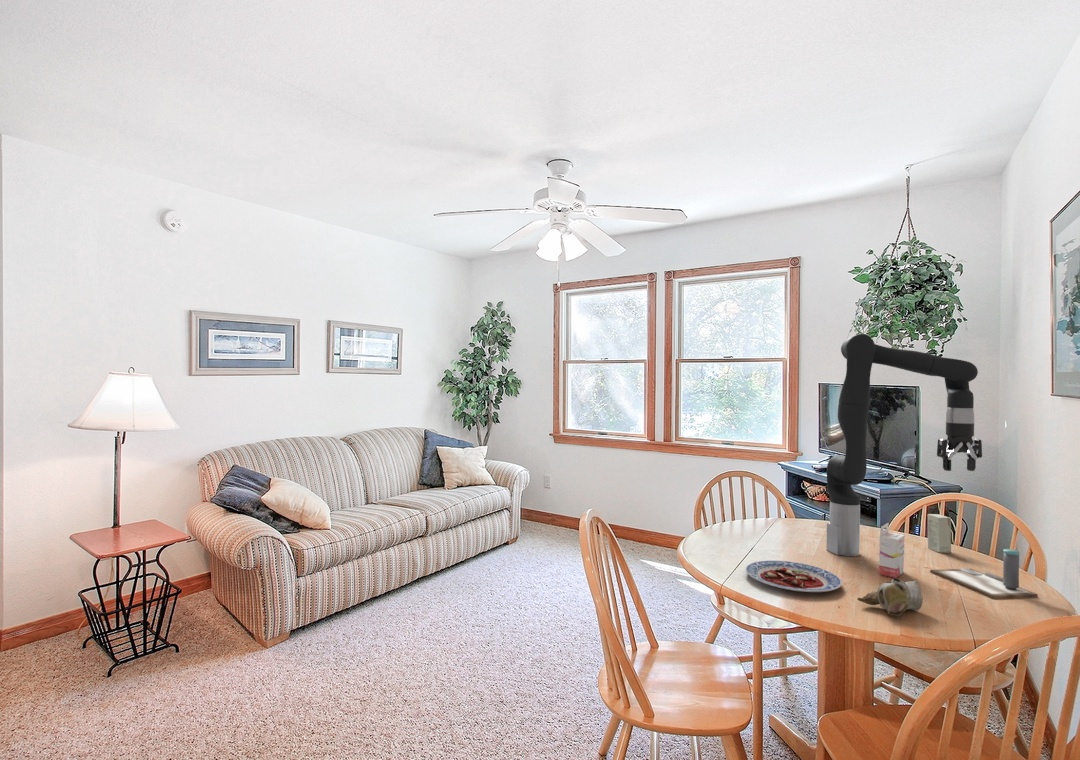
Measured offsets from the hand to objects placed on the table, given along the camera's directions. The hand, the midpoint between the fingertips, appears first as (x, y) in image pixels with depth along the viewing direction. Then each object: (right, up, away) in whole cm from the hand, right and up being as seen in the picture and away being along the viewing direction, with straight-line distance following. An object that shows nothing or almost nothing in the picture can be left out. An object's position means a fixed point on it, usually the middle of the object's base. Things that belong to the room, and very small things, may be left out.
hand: (959, 470), depth 185 cm
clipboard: (-9, -30, -21) cm, 38 cm away
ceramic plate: (-64, -30, -20) cm, 74 cm away
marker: (-5, -29, -27) cm, 40 cm away
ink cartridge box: (-30, -30, -12) cm, 44 cm away
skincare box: (+2, -30, +12) cm, 33 cm away
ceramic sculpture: (-47, -30, -41) cm, 69 cm away
